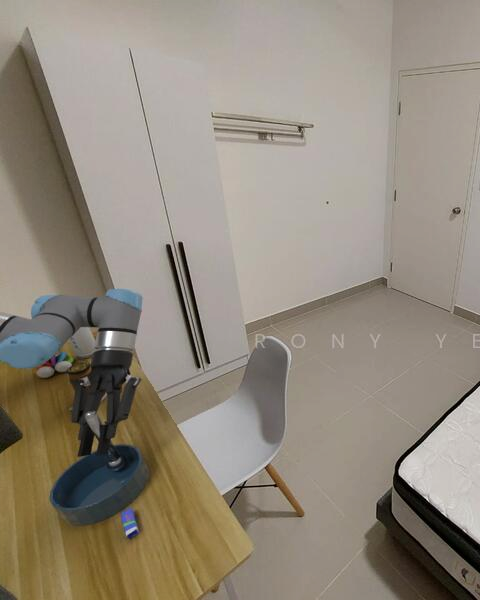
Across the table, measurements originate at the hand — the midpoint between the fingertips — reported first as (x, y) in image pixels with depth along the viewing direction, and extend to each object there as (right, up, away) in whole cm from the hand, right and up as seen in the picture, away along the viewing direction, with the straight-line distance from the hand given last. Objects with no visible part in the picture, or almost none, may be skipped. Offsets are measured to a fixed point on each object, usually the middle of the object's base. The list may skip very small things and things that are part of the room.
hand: (93, 454), depth 73 cm
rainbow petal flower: (-49, +11, +39) cm, 63 cm away
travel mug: (-46, +15, +47) cm, 67 cm away
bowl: (0, -10, +4) cm, 11 cm away
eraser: (+11, -15, -2) cm, 18 cm away
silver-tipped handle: (-1, -7, +8) cm, 11 cm away
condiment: (-27, +4, +28) cm, 39 cm away
